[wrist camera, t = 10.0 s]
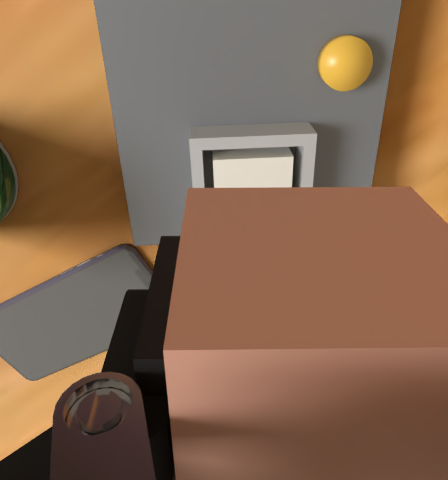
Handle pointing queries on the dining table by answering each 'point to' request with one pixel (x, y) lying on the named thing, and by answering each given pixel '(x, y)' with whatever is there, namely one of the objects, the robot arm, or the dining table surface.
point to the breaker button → (253, 167)
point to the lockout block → (309, 336)
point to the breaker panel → (242, 92)
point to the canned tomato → (7, 183)
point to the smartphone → (69, 313)
